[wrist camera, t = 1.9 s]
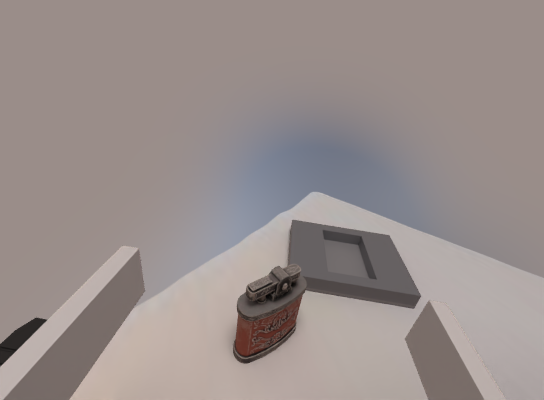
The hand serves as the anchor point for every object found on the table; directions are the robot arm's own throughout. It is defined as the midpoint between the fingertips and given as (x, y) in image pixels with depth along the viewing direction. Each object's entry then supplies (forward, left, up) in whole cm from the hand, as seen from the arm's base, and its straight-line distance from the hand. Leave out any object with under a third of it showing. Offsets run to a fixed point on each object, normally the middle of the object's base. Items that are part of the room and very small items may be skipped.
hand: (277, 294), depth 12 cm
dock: (-11, -25, -18) cm, 33 cm away
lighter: (0, -10, -18) cm, 21 cm away
